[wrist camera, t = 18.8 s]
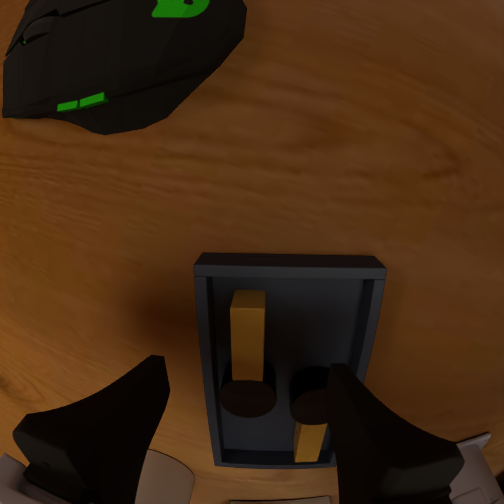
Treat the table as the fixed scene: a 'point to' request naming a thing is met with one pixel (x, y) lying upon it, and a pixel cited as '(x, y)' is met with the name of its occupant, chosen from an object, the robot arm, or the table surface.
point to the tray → (284, 340)
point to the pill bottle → (164, 481)
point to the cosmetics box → (290, 501)
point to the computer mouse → (115, 59)
